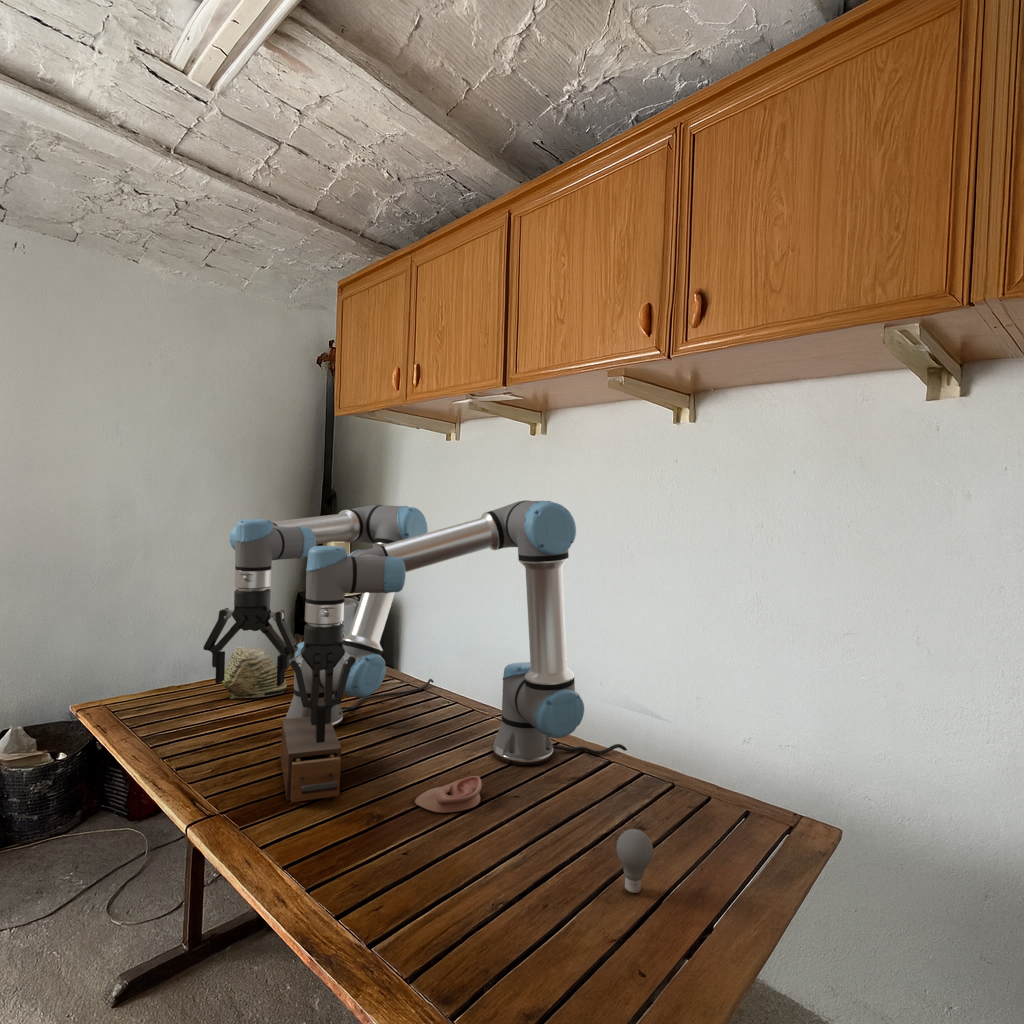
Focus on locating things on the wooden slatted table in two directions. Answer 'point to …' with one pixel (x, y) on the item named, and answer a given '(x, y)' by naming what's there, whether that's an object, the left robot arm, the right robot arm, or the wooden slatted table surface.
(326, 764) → the drawer
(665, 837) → the wooden slatted table surface
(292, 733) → the cabinet
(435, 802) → the anatomical model
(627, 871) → the light bulb
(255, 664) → the fossil
